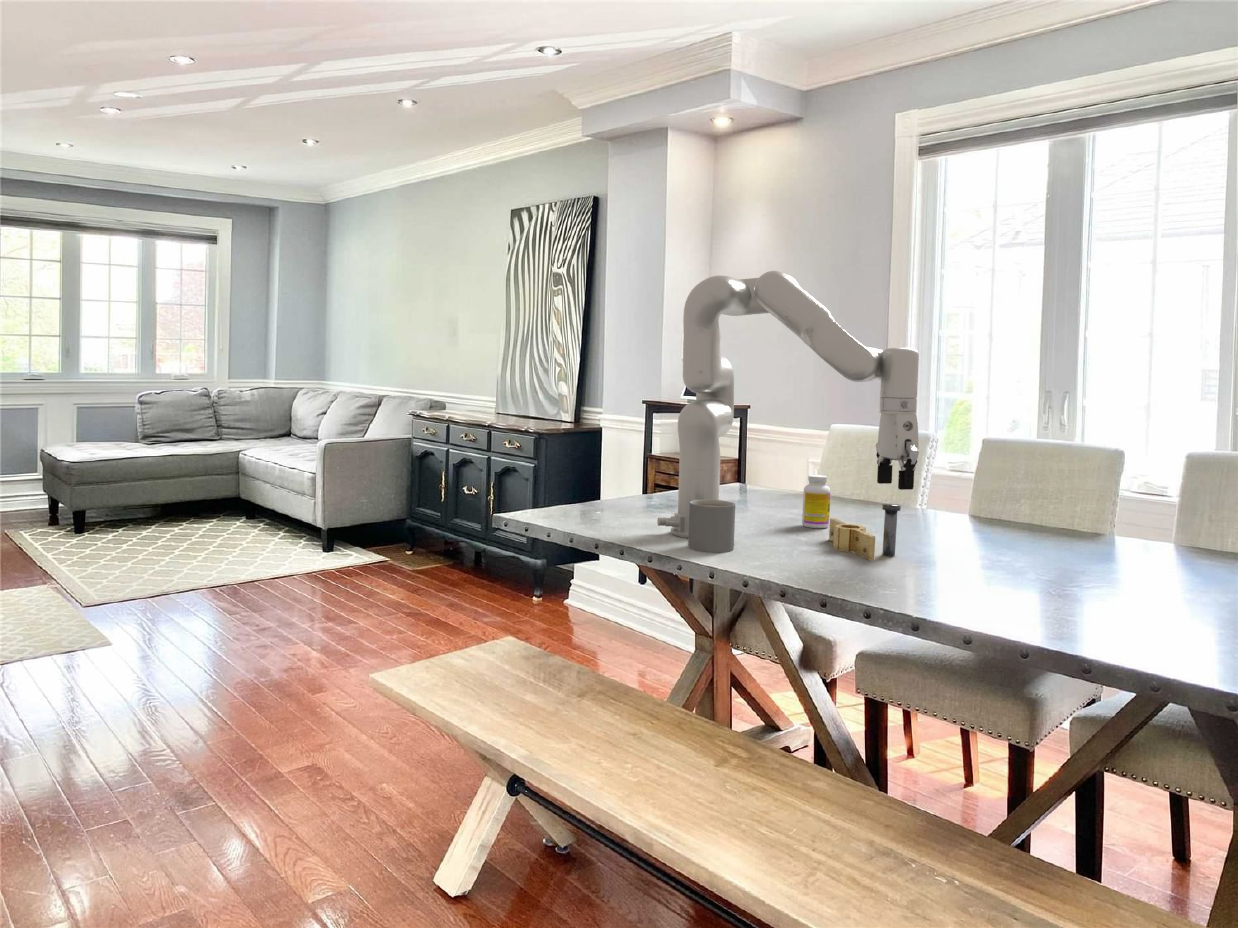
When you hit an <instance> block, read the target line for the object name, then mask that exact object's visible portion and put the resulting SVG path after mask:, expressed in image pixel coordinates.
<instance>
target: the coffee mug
mask: <svg viewBox="0 0 1238 928" xmlns="http://www.w3.org/2000/svg"><path fill="white" fill-rule="evenodd" d="M735 523H736V503H734V502H733V501H729V500H723V499H722V500H721V499H719V500H694V501H691V502H690V507H689V536H688V538H687V539H688V540H687V541H688V542H687V548H688V549H689V550H692V551H694V552H700V553H708V554H709V553H710V554H719V553H721V554H723V553H724V554H725V553H730V552H733V551H734V549H735V548H734V547H735V527H736V525H735Z"/></svg>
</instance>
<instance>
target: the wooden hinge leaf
mask: <svg viewBox="0 0 1238 928" xmlns="http://www.w3.org/2000/svg"><path fill="white" fill-rule="evenodd" d="M838 524H847V522H846V523H845V522H843V521H842V520H840V519H837V518H834V517H833V518H832V517H831V518H830V517H829V529H828V530H829V533H828V540H829V541H831V542H833V543H834V527H835V525H838Z"/></svg>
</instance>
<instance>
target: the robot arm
mask: <svg viewBox="0 0 1238 928" xmlns="http://www.w3.org/2000/svg"><path fill="white" fill-rule="evenodd" d="M761 314H770V315H771V316H773V317H774V318H775V319H777V320H778V321H779V322H780V323H781V324H783V325H784V326H785V327H786V328H788V329H789V330H790V331H791V332H792V333H793V334H795V335H796V336H797V337H798V338H799V339H800V340H801V341H802V342H803V343H804V344H805V345H806V346H808V347H809V348H810V349H811V350H812V351H813V352H814V353H815V354H816V355H817V356H818V357H820V359H822V360H823V361H824V362H825V363H826V364H827V365H829V366H830V367H832V368H833V369H834V370H835V371H836V372H837V373H839V375H841V376H842V377H843V378H845V379H847V380H849V381H851V382H855V383H866V382H873V381H880V389H879V390H880V392H879V393H880V395H879V413H880V419H879V426H878V437H877V442H876V443H875V449H876V458H877V459H876V464H877V476H876V477H877V479H876V482H877V484H880V485H881V484H887V485H888V484H890V485H891V484H892V483H893V465H892V464H891V463H892V462H893V461H898V464H899V465H898V466H899V467H900V469H899V470H898V484H897V485H898V486H897V488H898V490H901V491H902V490H906V491H907V490H908V491H909V490H914V485H915V484H914V483H915V471H916V469H917V468H916V465H918V464H917V463H918V458H919V454H920V451H919V425H918V424H919V423H918V416H917V408H918V407H917V406H918V386H919V385H918V384H919V381H918V380H919V362H920V361H919V360H920V359H919V358H920V357H919V356H920V355H919V352H918V350H917V349H915V348H913V347H888V348H876V347H869V346H866V345H863V344H862V343H861V342H860V341H858V340H857V339H856V338H855V337H853V336H852V335H851V334H849V333H848V332H847V331H846V330H845V329H843V328H842V327H841V325H840V324H838V322H836V320H835V319H834V317H833V316H832V314H831V312H830V310H828V309H827V307H826V306H825V305H823V304H822V303H821V302H819V301H818V300H817V299H816V298H814V297H813V296H812V295H811V294H809V293H808V291H806V290H804V289H803V288H802V287H801V286H800V284H799V283H798V281H797V280H796V279H795V278H794V277H793V276H791V275H789V274H787V273H784V272H782V271H778V270H770V271H767V272H765V273H762V274H761V275H760V276H759V277H753V278H741V279H737V278H735V277H732V276H729V275H728V276H727V275H714V276H709V277H707V278H705V279H703V280H701V281H700V282H699V283H697V284H696V285H695V286H694V287H693V288H692V289H691V290H690V292H689V294H688V296H687V298H686V300H685V303H684V308H683V315H682V316H683V318H682V319H683V323H682V324H683V326H682V327H683V342H682V380H683V383H684V386H685V387H686V388H687V390H689V391H690V392H692V393H694V394H695V400H693V401H690V402H688V403H687V404H685V406H684V407H683V408H682V409H681V411H680V413H679V414H678V419H677V433H678V434H677V436H678V443H679V444H678V445H679V459H678V460H679V463H678V464H679V466H678V468H679V470H678V498H677V499H678V500H677V512H675V513H674V515H673V516H670V517H657V526H658V527H659V526H661V527H662V526H663V527H670V534H671V535H673V536H676V537H680V538H685V539H688V536H689V507H690V502H691V501H694V500H720V483H721V482H720V481H721V479H720V478H721V477H720V476H721V448H720V440H719V439H720V438H721V437H723V436H725V435H726V434H727V433H729V431H730V430H731V428H732V426H733V422H734V414H735V413H734V412H735V374H734V370H733V366H732V364H731V362H730V361H729V359H727V357H725V356H724V355H722V354H721V330H720V329H721V328H720V323H719V320H720V316H721V315H725V316H731V317H740V316H741V317H742V316H751V315H761Z"/></svg>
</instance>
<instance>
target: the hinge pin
mask: <svg viewBox="0 0 1238 928" xmlns="http://www.w3.org/2000/svg"><path fill="white" fill-rule="evenodd" d="M901 508H902V505H901V504H899V503H898V504H897V503H882V505H881V510H883V511H884V519H883V520H884V521H883V536H882V537H883V538H882V540H883V541H882V552H881V553H882V556H883V557H891V558H892V557H895V556H896V543H897V528H898V527H897V525H898V513H899V512H901Z"/></svg>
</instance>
